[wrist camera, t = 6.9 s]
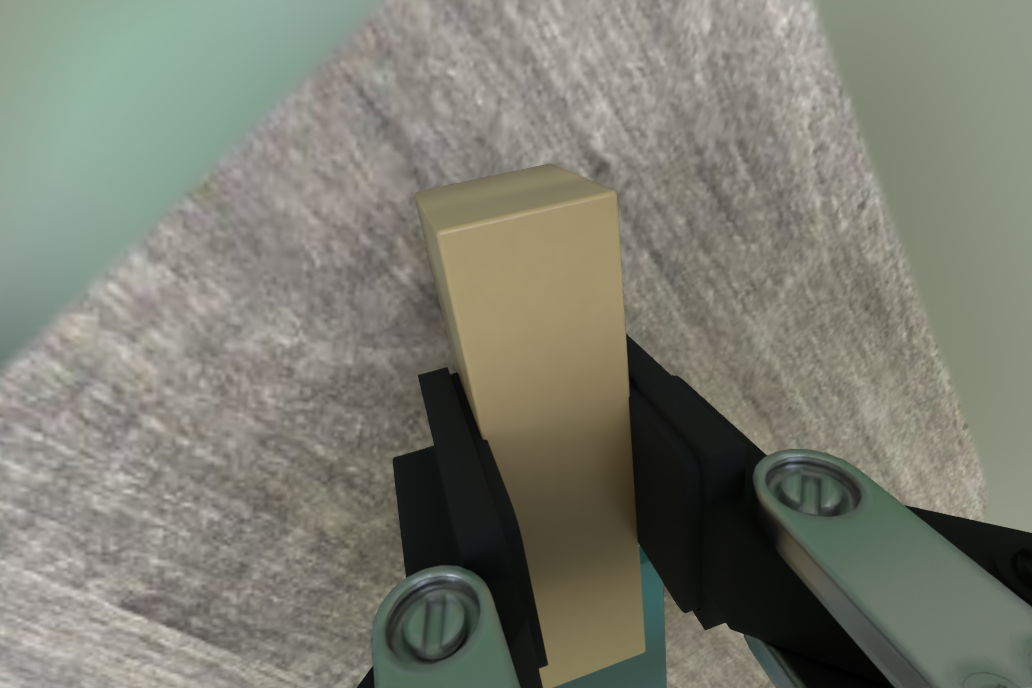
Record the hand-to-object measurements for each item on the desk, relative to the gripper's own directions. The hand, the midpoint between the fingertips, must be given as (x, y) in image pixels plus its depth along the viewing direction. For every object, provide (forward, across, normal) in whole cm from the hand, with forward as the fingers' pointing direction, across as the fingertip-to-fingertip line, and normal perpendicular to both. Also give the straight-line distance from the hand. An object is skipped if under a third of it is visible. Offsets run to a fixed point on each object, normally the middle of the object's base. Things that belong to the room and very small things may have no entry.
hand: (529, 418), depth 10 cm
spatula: (0, 0, +3) cm, 3 cm away
